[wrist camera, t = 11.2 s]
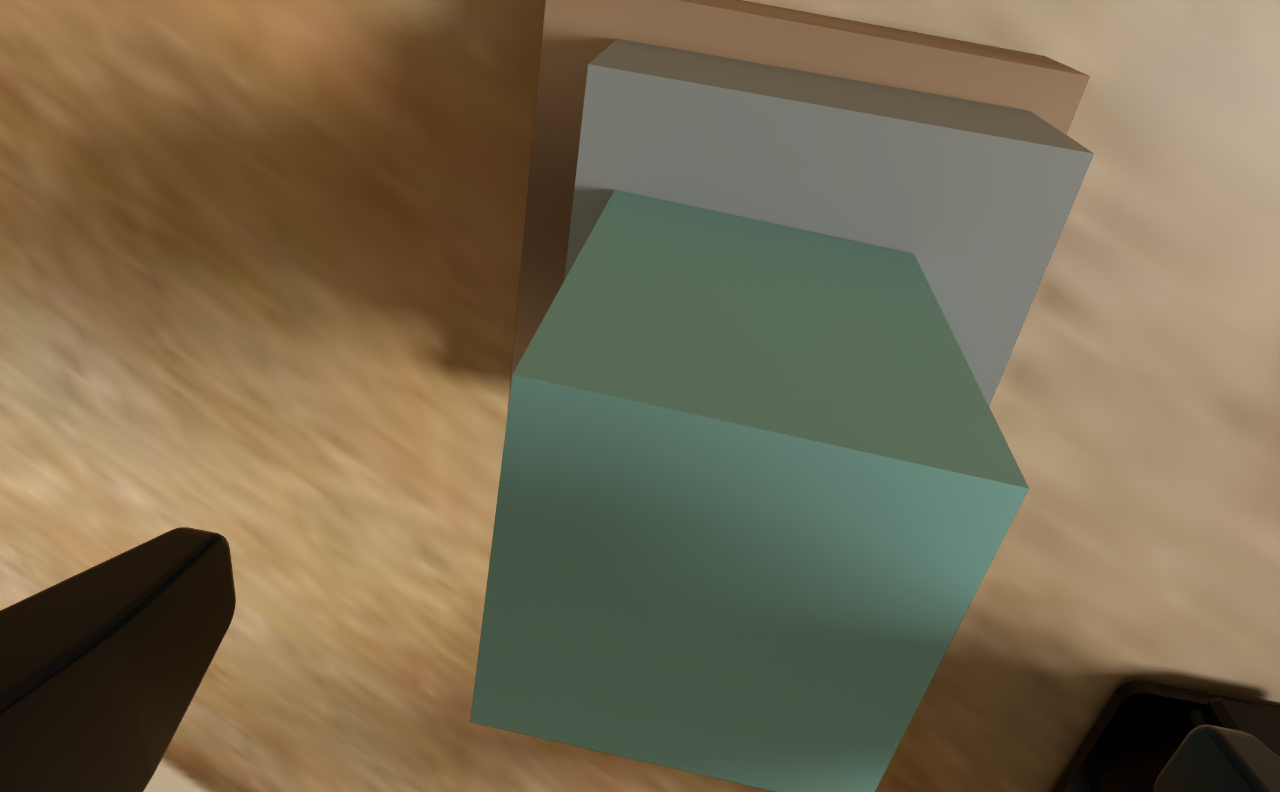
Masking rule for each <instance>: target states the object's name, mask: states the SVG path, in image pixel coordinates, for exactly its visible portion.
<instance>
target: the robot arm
mask: <svg viewBox="0 0 1280 792" xmlns="http://www.w3.org/2000/svg"><path fill="white" fill-rule="evenodd" d="M235 603H236V598H235V588H234V580H233V571H232V563H231V555H230V548H229V543H228V541H227V540H226V538H225V537H224V536H222V535H220V534H218V533H214V532H208V531H203V530H198V529H193V528H188V527H181V528H176V529H174V530H171V531H169V532H166V533H164V534H162V535H160V536H158V537H156V538H154V539H152V540H149V541H147V542H145V543H143V544H141V545H139V546H137V547H135V548H132V549H130V550H128V551H126V552H124V553H122V554H120V555H118V556H115V557H113V558H111V559H109V560H107V561H105V562H103V563H101V564H98V565H96V566H94V567H92V568H90V569H88V570H86V571H84V572H81V573H79V574H77V575H75V576H73V577H71V578H69V579H67V580H64V581H62V582H60V583H58V584H56V585H54V586H52V587H50V588H47V589H45V590H43V591H41V592H39V593H37V594H35V595H33V596H30V597H28V598H26V599H24V600H22V601H20V602H18V603H16V604H13V605H11V606H9V607H7V608H5V609H3V610H1V611H0V792H143V791H144V789H145V788H146V786H147V784H148V783H149V781H150V779H151V778H152V776H153V774H154V772H155V771H156V769H157V767H158V765H159V763H160V761H161V759H162V758H163V756H164V754H165V752H166V750H167V748H168V746H169V744H170V742H171V740H172V738H173V736H174V734H175V732H176V730H177V728H178V726H179V724H180V722H181V720H182V719H183V717H184V715H185V713H186V711H187V709H188V707H189V705H190V703H191V701H192V699H193V697H194V695H195V693H196V691H197V689H198V687H199V685H200V683H201V681H202V679H203V677H204V675H205V673H206V671H207V669H208V667H209V665H210V663H211V661H212V659H213V657H214V655H215V653H216V651H217V649H218V647H219V645H220V643H221V641H222V639H223V638H224V636H225V634H226V632H227V630H228V628H229V625H230V623H231V621H232V618H233V614H234V610H235ZM1052 792H1280V708H1277V707H1272V706H1267V705H1262V704H1257V703H1251V702H1246V701H1241V700H1236V699H1231V698H1226V697H1221V696H1216V695H1210V694H1205V693H1200V692H1195V691H1190V690H1185V689H1180V688H1174V687H1169V686H1164V685H1159V684H1154V683H1149V682H1144V681H1132V682H1127V683H1125V684H1123V685H1121V686H1120V687H1119V688H1118V689H1117V690H1116V691H1115V692H1114V694H1113V696H1112V697H1111V699H1110V700H1109V702H1108V703H1107V705H1106V707H1105V708H1104V710H1103V711H1102V713H1101V715H1100V716H1099V718H1098V719H1097V721H1096V722H1095V724H1094V726H1093V727H1092V729H1091V730H1090V732H1089V734H1088V735H1087V737H1086V738H1085V740H1084V742H1083V743H1082V745H1081V746H1080V748H1079V749H1078V751H1077V753H1076V754H1075V756H1074V757H1073V759H1072V761H1071V762H1070V764H1069V765H1068V767H1067V768H1066V770H1065V772H1064V773H1063V775H1062V776H1061V778H1060V780H1059V781H1058V783H1057V784H1056V786H1055V787H1054V789H1053V791H1052Z"/></svg>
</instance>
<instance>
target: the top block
mask: <svg viewBox="0 0 1280 792" xmlns="http://www.w3.org/2000/svg"><path fill="white" fill-rule="evenodd" d="M1093 154H1094V153H1092V152H1091V151H1089V150H1088V149H1086V148H1085V147H1083V146H1082V145H1080V144H1079V143H1077V142H1076V141H1074V140H1073V139H1071V138H1070V137H1068V136H1067V135H1065V134H1064V133H1062V132H1061V131H1059V130H1058V129H1056V128H1055V127H1053V126H1052V125H1050V124H1049V123H1047V122H1046V121H1044V120H1043V119H1041V118H1040V117H1038V116H1037V115H1035V114H1034V113H1033V112H1031V111H1027V110H1022V109H1016V108H1010V107H1005V106H999V105H993V104H988V103H982V102H976V101H971V100H965V99H959V98H953V97H948V96H942V95H936V94H931V93H925V92H919V91H914V90H908V89H902V88H897V87H891V86H885V85H879V84H874V83H868V82H862V81H857V80H851V79H845V78H840V77H834V76H828V75H823V74H817V73H811V72H806V71H800V70H794V69H788V68H783V67H777V66H771V65H766V64H760V63H754V62H749V61H743V60H737V59H732V58H726V57H720V56H714V55H709V54H703V53H697V52H692V51H686V50H680V49H675V48H669V47H663V46H658V45H652V44H646V43H641V42H635V41H629V40H623V39H617V40H615V41H614V42H613V43H612V44H611V45H610V46H608V47H607V48H606V49H605V50H604V51H603V52H602V53H600V54H599V55H598V56H597V57H596V58H595V59H594V60H592V61H591V62H590V63H589V64H588V71H587V80H586V89H585V98H584V107H583V116H582V125H581V134H580V143H579V152H578V161H577V170H576V179H575V188H574V197H573V206H572V215H571V224H570V233H569V242H568V251H567V260H566V269H565V278H564V281H565V279H566V277H567V275H568V273H569V272H570V270H571V268H572V266H573V264H574V263H575V261H576V259H577V257H578V255H579V254H580V252H581V250H582V248H583V246H584V244H585V243H586V241H587V239H588V237H589V235H590V234H591V232H592V230H593V228H594V226H595V225H596V223H597V221H598V219H599V217H600V216H601V214H602V212H603V210H604V208H605V206H606V205H607V203H608V201H609V199H610V197H611V196H612V194H613V192H614V190H619V191H624V192H629V193H633V194H638V195H643V196H647V197H652V198H656V199H661V200H666V201H670V202H675V203H679V204H684V205H689V206H693V207H698V208H703V209H707V210H712V211H716V212H721V213H726V214H730V215H735V216H739V217H744V218H749V219H753V220H758V221H762V222H767V223H772V224H776V225H781V226H785V227H790V228H795V229H799V230H804V231H809V232H813V233H818V234H822V235H827V236H832V237H836V238H841V239H845V240H850V241H855V242H859V243H864V244H868V245H873V246H878V247H882V248H887V249H891V250H896V251H901V252H905V253H910V254H914V255H915V257H916V259H917V261H918V263H919V265H920V267H921V269H922V271H923V273H924V275H925V277H926V279H927V281H928V283H929V285H930V288H931V290H932V292H933V294H934V296H935V298H936V300H937V302H938V304H939V306H940V308H941V310H942V312H943V314H944V316H945V318H946V320H947V322H948V324H949V326H950V328H951V330H952V332H953V334H954V336H955V339H956V341H957V343H958V345H959V347H960V349H961V351H962V353H963V355H964V357H965V359H966V361H967V363H968V365H969V367H970V369H971V371H972V373H973V375H974V377H975V379H976V381H977V383H978V385H979V387H980V390H981V392H982V394H983V396H984V398H985V400H986V402H987V404H988V406H989V405H990V403H991V400H992V398H993V396H994V393H995V391H996V388H997V386H998V384H999V381H1000V379H1001V376H1002V374H1003V371H1004V369H1005V367H1006V364H1007V362H1008V359H1009V357H1010V355H1011V352H1012V350H1013V347H1014V345H1015V343H1016V340H1017V338H1018V335H1019V333H1020V330H1021V328H1022V326H1023V323H1024V321H1025V318H1026V316H1027V314H1028V311H1029V309H1030V306H1031V304H1032V302H1033V299H1034V297H1035V294H1036V292H1037V289H1038V287H1039V285H1040V282H1041V280H1042V277H1043V275H1044V273H1045V270H1046V268H1047V265H1048V263H1049V261H1050V258H1051V256H1052V253H1053V251H1054V248H1055V246H1056V244H1057V241H1058V239H1059V236H1060V234H1061V232H1062V229H1063V227H1064V224H1065V222H1066V220H1067V217H1068V215H1069V212H1070V210H1071V207H1072V205H1073V203H1074V200H1075V198H1076V195H1077V193H1078V191H1079V188H1080V186H1081V183H1082V181H1083V179H1084V176H1085V174H1086V171H1087V169H1088V166H1089V164H1090V162H1091V159H1092V157H1093Z"/></svg>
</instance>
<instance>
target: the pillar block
mask: <svg viewBox="0 0 1280 792" xmlns="http://www.w3.org/2000/svg"><path fill="white" fill-rule="evenodd" d="M1028 490H1029V487H1028V485H1027V483H1026V481H1025V479H1024V477H1023V475H1022V473H1021V471H1020V469H1019V467H1018V465H1017V463H1016V461H1015V459H1014V457H1013V455H1012V453H1011V451H1010V449H1009V447H1008V445H1007V443H1006V441H1005V438H1004V436H1003V434H1002V432H1001V430H1000V428H999V426H998V424H997V422H996V420H995V418H994V416H993V414H992V412H991V410H990V408H989V406H988V404H987V402H986V400H985V398H984V396H983V394H982V392H981V390H980V387H979V385H978V383H977V381H976V379H975V377H974V375H973V373H972V371H971V369H970V367H969V365H968V363H967V361H966V359H965V357H964V355H963V353H962V351H961V349H960V347H959V345H958V343H957V341H956V339H955V336H954V334H953V332H952V330H951V328H950V326H949V324H948V322H947V320H946V318H945V316H944V314H943V312H942V310H941V308H940V306H939V304H938V302H937V300H936V298H935V296H934V294H933V292H932V290H931V288H930V285H929V283H928V281H927V279H926V277H925V275H924V273H923V271H922V269H921V267H920V265H919V263H918V261H917V259H916V257H915V255H914V254H910V253H905V252H901V251H896V250H891V249H887V248H882V247H878V246H873V245H868V244H864V243H859V242H855V241H850V240H845V239H841V238H836V237H832V236H827V235H822V234H818V233H813V232H809V231H804V230H799V229H795V228H790V227H785V226H781V225H776V224H772V223H767V222H762V221H758V220H753V219H749V218H744V217H739V216H735V215H730V214H726V213H721V212H716V211H712V210H707V209H703V208H698V207H693V206H689V205H684V204H679V203H675V202H670V201H666V200H661V199H656V198H652V197H647V196H643V195H638V194H633V193H629V192H624V191H619V190H614V192H613V194H612V196H611V197H610V199H609V201H608V203H607V205H606V206H605V208H604V210H603V212H602V214H601V216H600V217H599V219H598V221H597V223H596V225H595V226H594V228H593V230H592V232H591V234H590V235H589V237H588V239H587V241H586V243H585V244H584V246H583V248H582V250H581V252H580V254H579V255H578V257H577V259H576V261H575V263H574V264H573V266H572V268H571V270H570V272H569V273H568V275H567V277H566V279H565V281H564V282H563V284H562V286H561V288H560V290H559V292H558V293H557V295H556V297H555V299H554V301H553V302H552V304H551V306H550V308H549V310H548V311H547V313H546V315H545V317H544V319H543V320H542V322H541V324H540V326H539V328H538V330H537V331H536V333H535V335H534V337H533V339H532V340H531V342H530V344H529V346H528V348H527V349H526V351H525V353H524V355H523V357H522V358H521V360H520V362H519V364H518V366H517V367H516V369H515V371H514V373H513V376H512V384H511V392H510V401H509V409H508V417H507V425H506V433H505V441H504V450H503V458H502V466H501V474H500V482H499V490H498V499H497V507H496V515H495V523H494V531H493V539H492V548H491V556H490V564H489V572H488V580H487V588H486V596H485V605H484V613H483V621H482V629H481V637H480V645H479V654H478V662H477V670H476V678H475V686H474V694H473V703H472V711H471V719H470V722H472V723H477V724H481V725H485V726H490V727H494V728H499V729H503V730H507V731H512V732H516V733H521V734H525V735H529V736H534V737H538V738H542V739H547V740H551V741H556V742H560V743H564V744H569V745H573V746H577V747H582V748H586V749H591V750H595V751H599V752H604V753H608V754H612V755H617V756H621V757H626V758H630V759H634V760H639V761H643V762H648V763H652V764H656V765H661V766H665V767H669V768H674V769H678V770H683V771H687V772H691V773H696V774H700V775H704V776H709V777H713V778H718V779H722V780H726V781H731V782H735V783H739V784H744V785H748V786H753V787H757V788H761V789H766V790H770V791H775V792H875V790H876V788H877V786H878V784H879V782H880V780H881V778H882V777H883V775H884V773H885V771H886V769H887V767H888V765H889V763H890V761H891V759H892V757H893V755H894V753H895V751H896V749H897V747H898V745H899V743H900V741H901V739H902V737H903V735H904V733H905V731H906V729H907V727H908V725H909V723H910V721H911V720H912V718H913V716H914V714H915V712H916V710H917V708H918V706H919V704H920V702H921V700H922V698H923V696H924V694H925V692H926V690H927V688H928V686H929V684H930V682H931V680H932V678H933V676H934V674H935V672H936V670H937V668H938V666H939V664H940V662H941V661H942V659H943V657H944V655H945V653H946V651H947V649H948V647H949V645H950V643H951V641H952V639H953V637H954V635H955V633H956V631H957V629H958V627H959V625H960V623H961V621H962V619H963V617H964V615H965V613H966V611H967V609H968V607H969V605H970V604H971V602H972V600H973V598H974V596H975V594H976V592H977V590H978V588H979V586H980V584H981V582H982V580H983V578H984V576H985V574H986V572H987V570H988V568H989V566H990V564H991V562H992V560H993V558H994V556H995V554H996V552H997V550H998V548H999V547H1000V545H1001V543H1002V541H1003V539H1004V537H1005V535H1006V533H1007V531H1008V529H1009V527H1010V525H1011V523H1012V521H1013V519H1014V517H1015V515H1016V513H1017V511H1018V509H1019V507H1020V505H1021V503H1022V501H1023V499H1024V497H1025V495H1026V493H1027V491H1028Z"/></svg>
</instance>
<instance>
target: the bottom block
mask: <svg viewBox="0 0 1280 792" xmlns="http://www.w3.org/2000/svg"><path fill="white" fill-rule="evenodd" d="M617 39H623V40H629V41H635V42H641V43H646V44H652V45H658V46H663V47H669V48H675V49H680V50H686V51H692V52H697V53H703V54H709V55H714V56H720V57H726V58H732V59H737V60H743V61H749V62H754V63H760V64H766V65H771V66H777V67H783V68H788V69H794V70H800V71H806V72H811V73H817V74H823V75H828V76H834V77H840V78H845V79H851V80H857V81H862V82H868V83H874V84H879V85H885V86H891V87H897V88H902V89H908V90H914V91H919V92H925V93H931V94H936V95H942V96H948V97H953V98H959V99H965V100H971V101H976V102H982V103H988V104H993V105H999V106H1005V107H1010V108H1016V109H1022V110H1027V111H1031V112H1033V113H1034V114H1035V115H1037V116H1038V117H1040V118H1041V119H1043V120H1044V121H1046V122H1047V123H1049V124H1050V125H1052V126H1053V127H1055V128H1056V129H1058V130H1059V131H1061V132H1062V133H1064V134H1065V135H1066V134H1067V132H1068V129H1069V127H1070V124H1071V122H1072V119H1073V117H1074V114H1075V112H1076V110H1077V107H1078V105H1079V102H1080V100H1081V97H1082V95H1083V92H1084V90H1085V87H1086V85H1087V82H1088V80H1089V77H1090V76H1088V75H1086V74H1084V73H1081V72H1079V71H1077V70H1075V69H1072V68H1070V67H1068V66H1066V65H1063V64H1061V63H1059V62H1057V61H1054V60H1052V59H1050V58H1048V57H1045V56H1041V55H1035V54H1030V53H1024V52H1019V51H1014V50H1008V49H1003V48H997V47H992V46H986V45H981V44H976V43H970V42H965V41H959V40H954V39H949V38H943V37H938V36H932V35H927V34H921V33H916V32H911V31H905V30H900V29H894V28H889V27H883V26H878V25H873V24H867V23H862V22H856V21H851V20H845V19H840V18H835V17H829V16H824V15H818V14H813V13H807V12H802V11H797V10H791V9H786V8H780V7H775V6H769V5H764V4H759V3H753V2H748V1H742V0H546V3H545V13H544V24H543V35H542V46H541V57H540V67H539V78H538V89H537V100H536V111H535V122H534V132H533V143H532V154H531V165H530V176H529V186H528V197H527V208H526V219H525V230H524V241H523V251H522V262H521V273H520V284H519V295H518V305H517V316H516V327H515V338H514V349H513V360H512V370H511V381H510V392H511V384H512V376H513V373H514V371H515V369H516V367H517V366H518V364H519V362H520V360H521V358H522V357H523V355H524V353H525V351H526V349H527V348H528V346H529V344H530V342H531V340H532V339H533V337H534V335H535V333H536V331H537V330H538V328H539V326H540V324H541V322H542V320H543V319H544V317H545V315H546V313H547V311H548V310H549V308H550V306H551V304H552V302H553V301H554V299H555V297H556V295H557V293H558V292H559V290H560V288H561V286H562V284H563V282H564V278H565V269H566V260H567V251H568V242H569V233H570V224H571V215H572V206H573V197H574V188H575V179H576V170H577V161H578V152H579V143H580V134H581V125H582V116H583V107H584V98H585V89H586V80H587V71H588V64H589V63H590V62H591V61H592V60H594V59H595V58H596V57H597V56H598V55H599V54H600V53H602V52H603V51H604V50H605V49H606V48H607V47H608V46H610V45H611V44H612V43H613V42H614V41H615V40H617ZM510 392H509V401H510ZM508 409H509V403H508ZM507 417H508V414H507ZM506 425H507V424H506Z"/></svg>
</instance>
